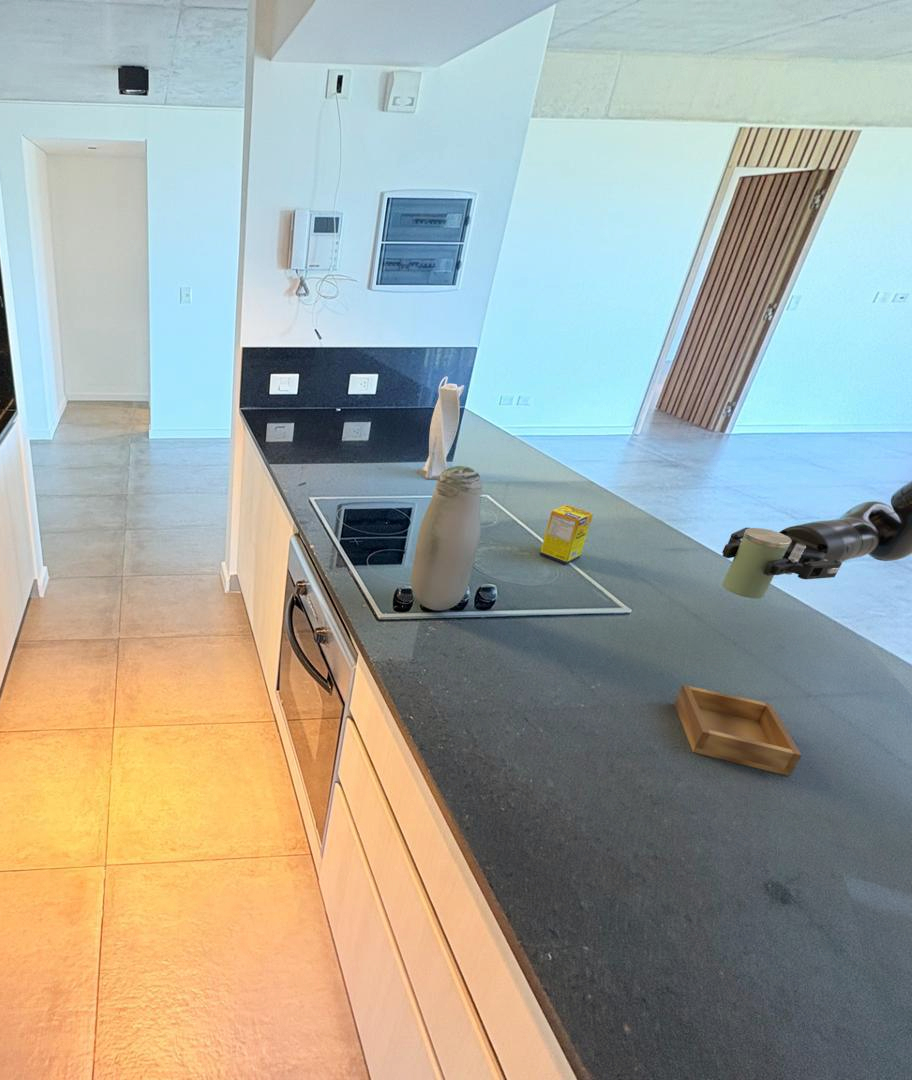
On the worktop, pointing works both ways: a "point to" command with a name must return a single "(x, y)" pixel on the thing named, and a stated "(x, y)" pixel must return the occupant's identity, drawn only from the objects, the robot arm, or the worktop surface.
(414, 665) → the worktop surface
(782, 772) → the holder
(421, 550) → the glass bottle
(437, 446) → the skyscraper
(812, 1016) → the worktop surface
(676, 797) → the worktop surface
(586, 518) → the supplement box
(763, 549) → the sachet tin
